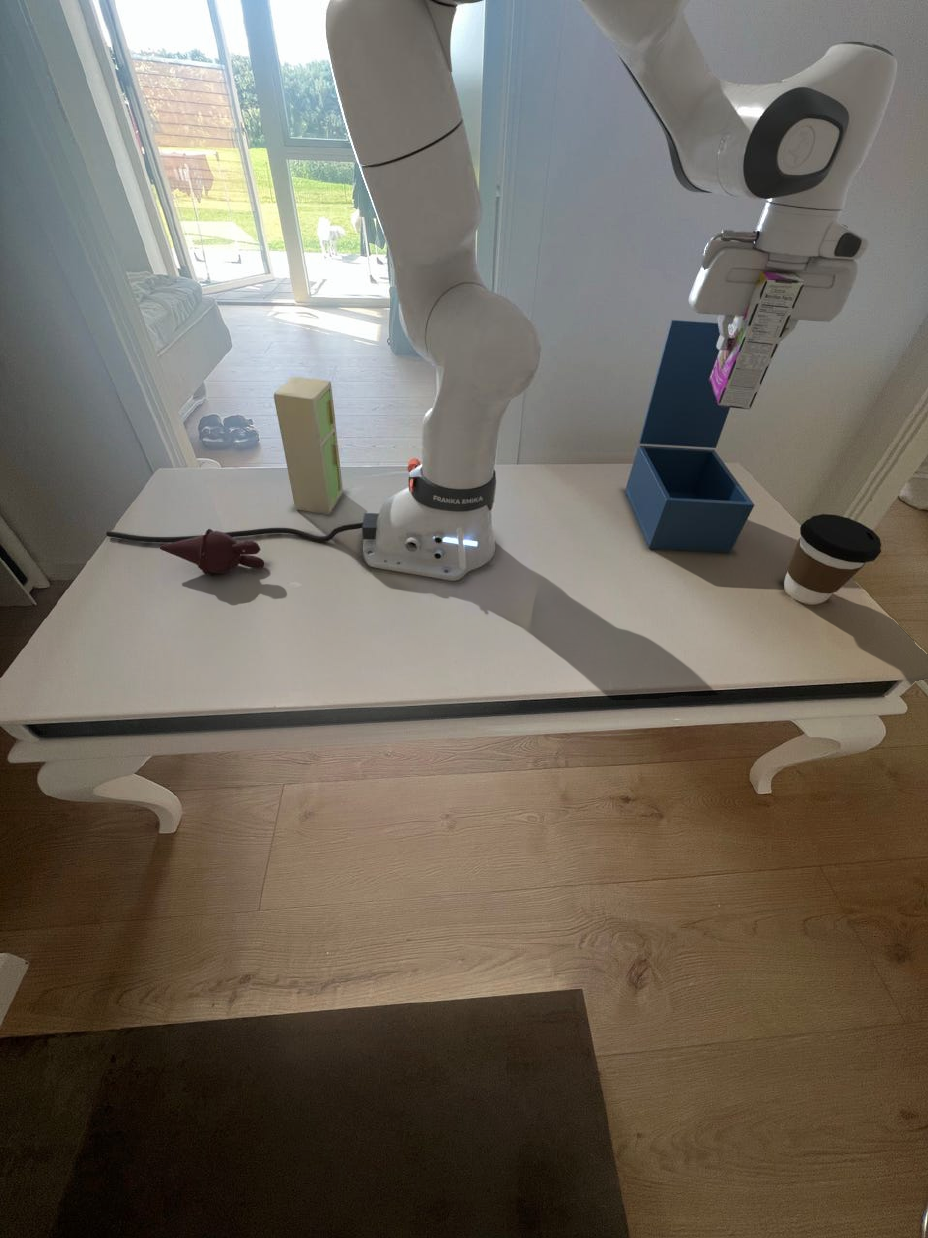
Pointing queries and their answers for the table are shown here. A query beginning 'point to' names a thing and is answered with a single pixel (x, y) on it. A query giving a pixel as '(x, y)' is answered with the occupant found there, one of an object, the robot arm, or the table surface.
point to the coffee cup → (828, 557)
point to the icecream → (216, 552)
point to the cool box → (686, 499)
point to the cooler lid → (685, 389)
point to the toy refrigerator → (310, 443)
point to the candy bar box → (754, 340)
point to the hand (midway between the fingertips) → (745, 350)
